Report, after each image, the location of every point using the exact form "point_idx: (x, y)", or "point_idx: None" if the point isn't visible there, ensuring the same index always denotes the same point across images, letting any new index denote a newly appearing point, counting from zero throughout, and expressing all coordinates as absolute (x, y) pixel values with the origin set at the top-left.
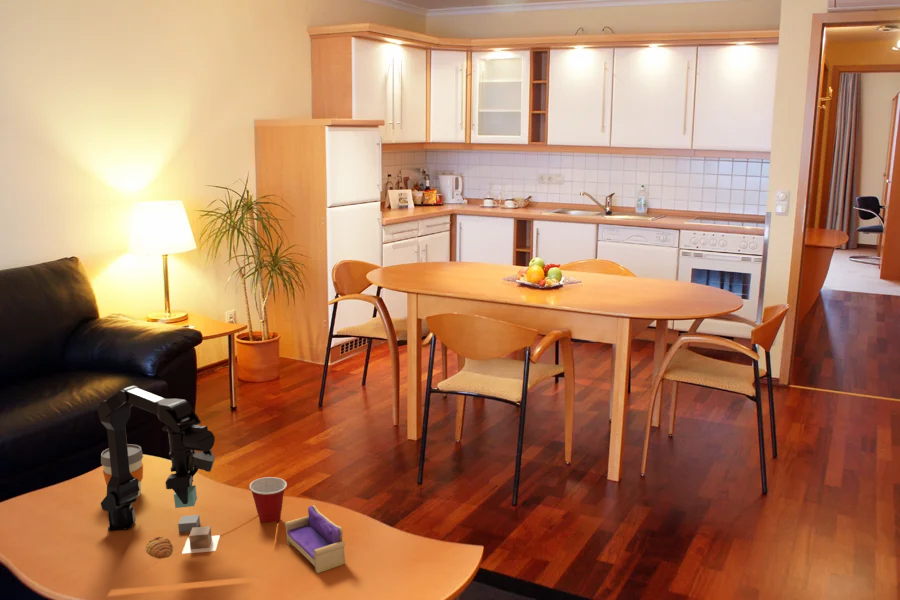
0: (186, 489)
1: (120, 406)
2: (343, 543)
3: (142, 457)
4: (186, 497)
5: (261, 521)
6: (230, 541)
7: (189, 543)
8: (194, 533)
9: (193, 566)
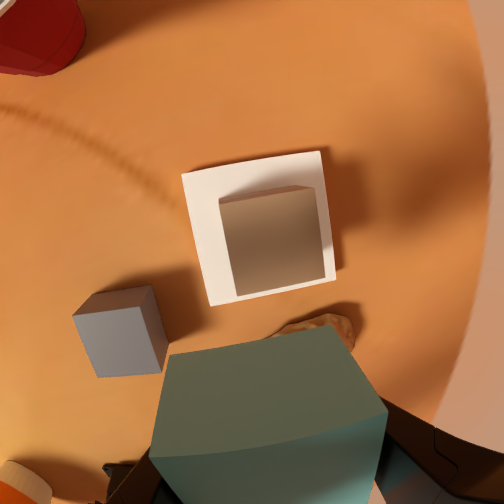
0: (486, 456)
1: None
2: None
3: None
4: (404, 414)
5: (71, 53)
6: (203, 125)
7: None
8: (300, 261)
9: (388, 211)
